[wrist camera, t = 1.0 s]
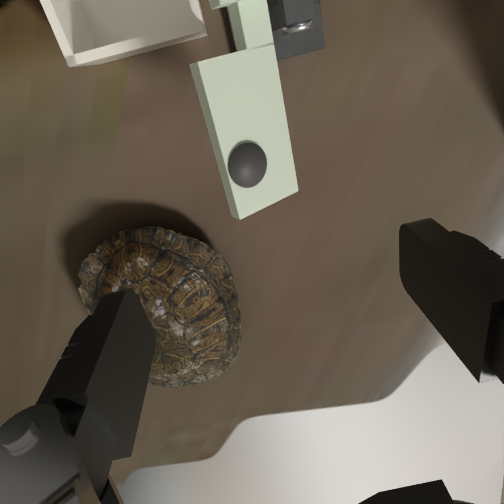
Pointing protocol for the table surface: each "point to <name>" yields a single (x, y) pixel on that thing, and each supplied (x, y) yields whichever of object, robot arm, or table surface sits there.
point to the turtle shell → (171, 300)
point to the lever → (247, 112)
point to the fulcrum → (294, 27)
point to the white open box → (121, 27)
